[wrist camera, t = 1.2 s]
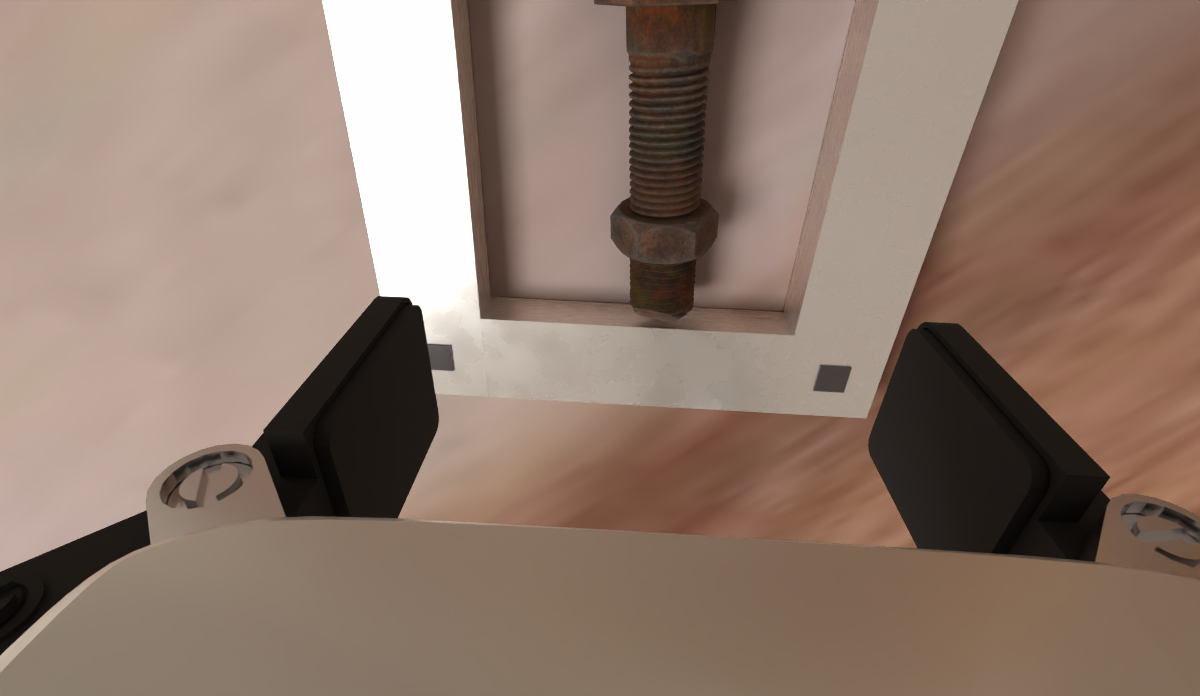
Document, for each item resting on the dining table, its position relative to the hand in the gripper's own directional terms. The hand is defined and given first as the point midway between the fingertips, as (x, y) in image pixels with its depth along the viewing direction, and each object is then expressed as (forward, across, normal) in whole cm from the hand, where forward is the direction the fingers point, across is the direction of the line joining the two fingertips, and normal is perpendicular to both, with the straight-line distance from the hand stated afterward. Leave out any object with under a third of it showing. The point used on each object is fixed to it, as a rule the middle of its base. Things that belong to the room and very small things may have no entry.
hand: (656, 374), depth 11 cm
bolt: (+19, -1, 0) cm, 19 cm away
